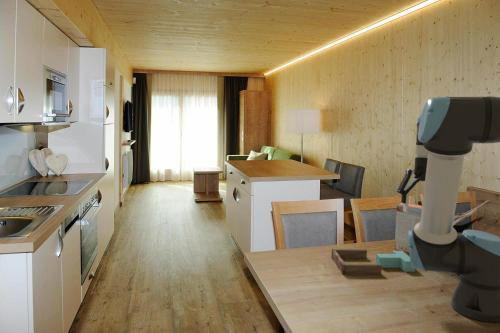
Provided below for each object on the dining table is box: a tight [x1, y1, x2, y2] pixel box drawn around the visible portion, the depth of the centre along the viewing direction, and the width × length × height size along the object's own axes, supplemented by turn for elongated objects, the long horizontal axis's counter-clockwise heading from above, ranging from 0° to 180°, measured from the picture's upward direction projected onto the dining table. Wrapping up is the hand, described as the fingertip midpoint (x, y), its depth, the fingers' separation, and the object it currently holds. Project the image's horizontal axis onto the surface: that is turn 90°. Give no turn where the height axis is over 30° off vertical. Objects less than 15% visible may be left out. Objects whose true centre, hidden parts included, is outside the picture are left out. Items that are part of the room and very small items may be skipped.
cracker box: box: [394, 202, 422, 256], centre depth 164 cm, size 14×6×21 cm, turn 36°
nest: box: [331, 248, 382, 276], centre depth 151 cm, size 18×14×4 cm
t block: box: [375, 250, 416, 273], centre depth 151 cm, size 12×12×4 cm
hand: (422, 211), depth 149 cm, fingers open, 13 cm apart
